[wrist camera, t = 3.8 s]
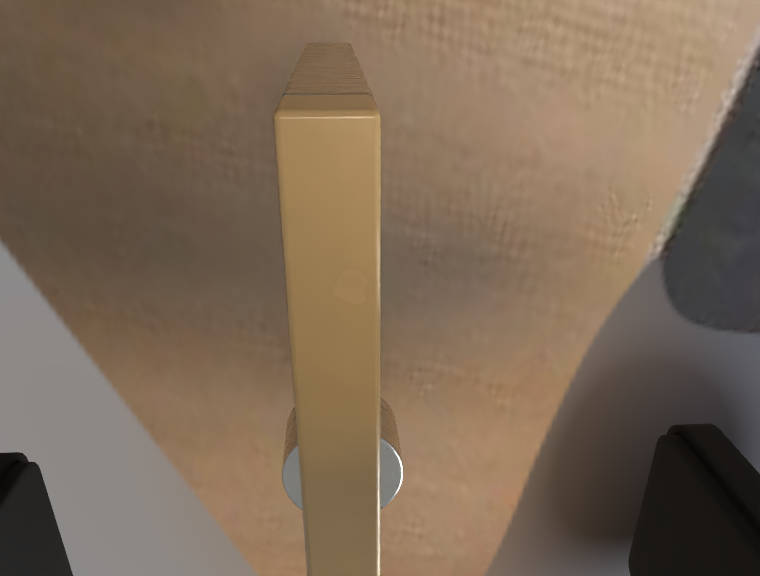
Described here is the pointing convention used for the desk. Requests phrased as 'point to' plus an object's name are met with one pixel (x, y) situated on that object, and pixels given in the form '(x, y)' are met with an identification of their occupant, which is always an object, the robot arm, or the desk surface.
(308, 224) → the wood-topped metal bracket
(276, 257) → the desk surface
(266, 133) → the desk surface
